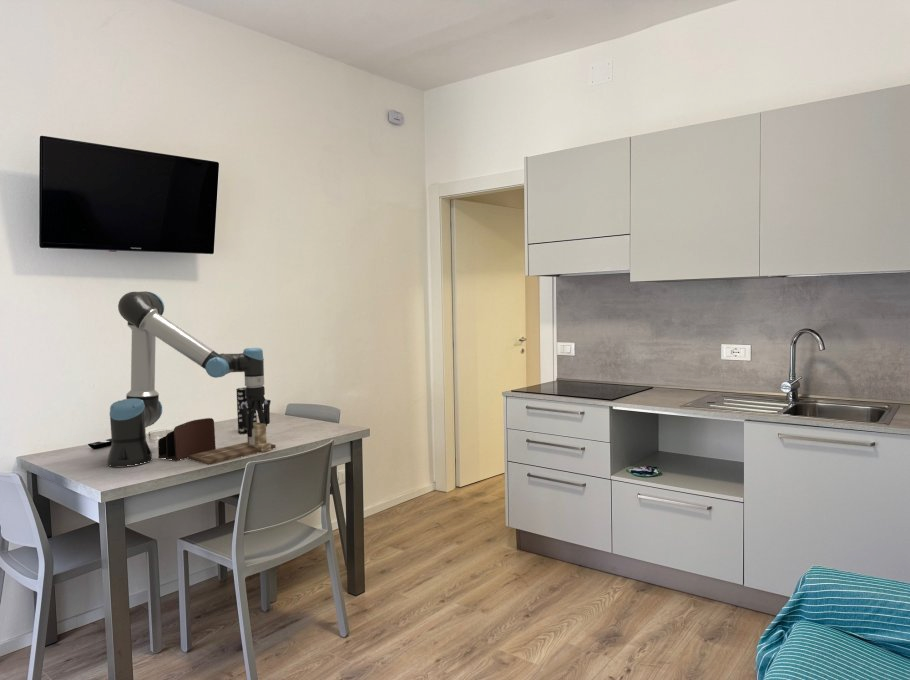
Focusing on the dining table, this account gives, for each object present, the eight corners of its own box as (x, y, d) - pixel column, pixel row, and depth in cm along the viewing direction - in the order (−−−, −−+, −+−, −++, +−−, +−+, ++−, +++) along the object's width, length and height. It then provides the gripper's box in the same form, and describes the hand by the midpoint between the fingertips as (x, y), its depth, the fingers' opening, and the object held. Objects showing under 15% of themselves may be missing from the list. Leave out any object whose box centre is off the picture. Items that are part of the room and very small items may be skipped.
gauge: (262, 451, 257) (261, 426, 256) (240, 446, 266) (239, 422, 265) (270, 449, 261) (270, 424, 260) (248, 444, 269) (247, 420, 268)
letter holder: (216, 449, 264) (214, 415, 263) (176, 461, 246) (175, 425, 245) (198, 447, 268) (196, 414, 267) (158, 459, 250) (156, 423, 249)
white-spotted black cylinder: (238, 434, 291) (236, 390, 290) (237, 430, 299) (235, 388, 298) (258, 432, 295) (256, 389, 293) (256, 429, 302) (254, 386, 301)
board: (209, 464, 240) (209, 460, 240) (188, 459, 249) (188, 455, 249) (275, 448, 264) (275, 444, 264) (254, 443, 273) (254, 440, 273)
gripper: (242, 389, 252) (244, 448, 253) (277, 384, 265) (280, 440, 267) (230, 388, 256) (233, 446, 258) (266, 382, 270) (268, 438, 272)
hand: (257, 443), depth 262 cm, fingers closed on gauge, 4 cm apart
